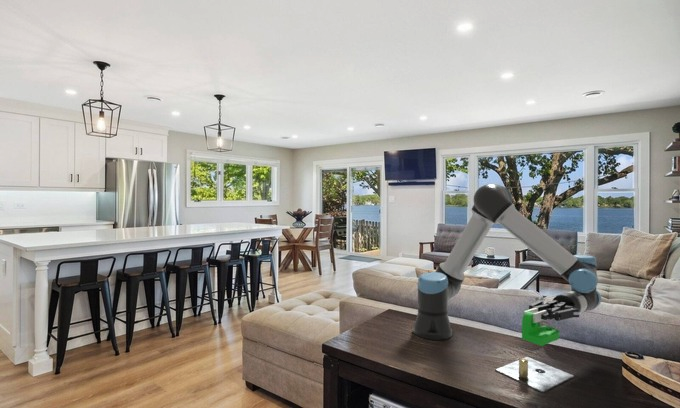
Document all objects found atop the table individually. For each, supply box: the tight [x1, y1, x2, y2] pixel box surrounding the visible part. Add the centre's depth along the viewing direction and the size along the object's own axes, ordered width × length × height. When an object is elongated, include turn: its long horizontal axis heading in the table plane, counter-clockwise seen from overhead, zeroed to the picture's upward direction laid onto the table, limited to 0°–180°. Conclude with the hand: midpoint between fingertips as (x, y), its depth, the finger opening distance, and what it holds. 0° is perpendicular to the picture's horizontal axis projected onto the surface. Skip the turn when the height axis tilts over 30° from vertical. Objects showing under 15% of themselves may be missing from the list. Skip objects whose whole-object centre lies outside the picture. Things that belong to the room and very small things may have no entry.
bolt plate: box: [495, 356, 575, 393], centre depth 113 cm, size 15×17×6 cm
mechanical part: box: [521, 311, 560, 347], centre depth 111 cm, size 12×6×8 cm, turn 122°
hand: (529, 317), depth 111 cm, fingers closed on mechanical part, 2 cm apart
